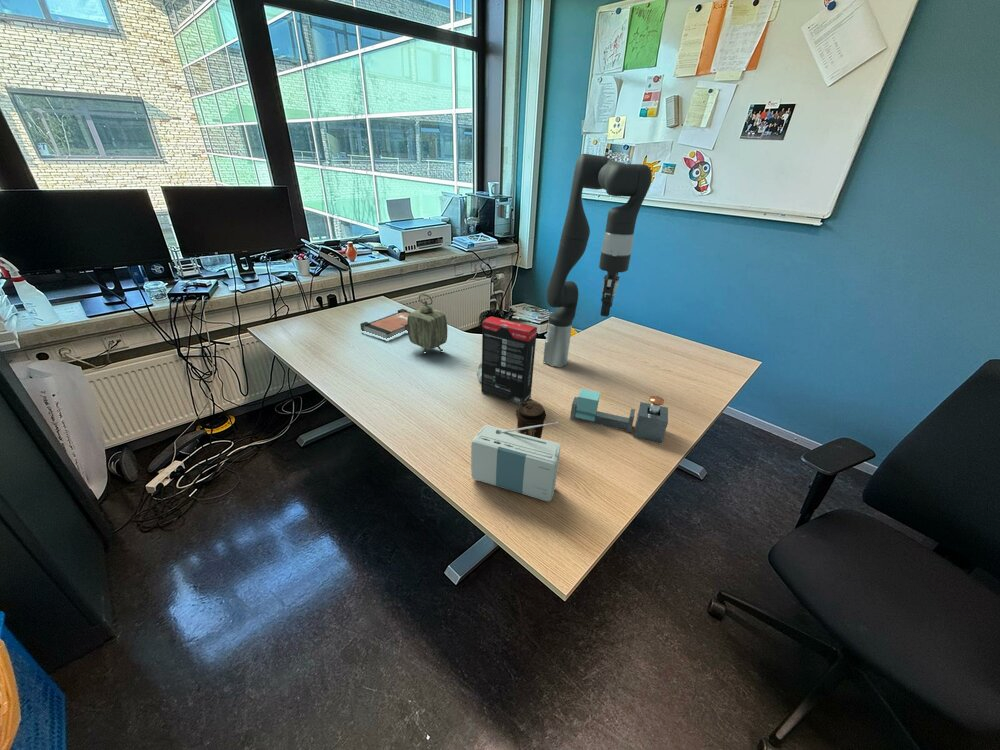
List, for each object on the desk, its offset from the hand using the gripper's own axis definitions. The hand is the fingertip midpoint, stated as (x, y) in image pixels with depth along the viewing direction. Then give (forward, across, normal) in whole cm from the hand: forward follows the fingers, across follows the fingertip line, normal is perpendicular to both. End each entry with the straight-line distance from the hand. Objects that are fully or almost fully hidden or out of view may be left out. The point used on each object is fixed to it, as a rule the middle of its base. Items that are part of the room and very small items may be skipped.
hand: (606, 311), depth 110 cm
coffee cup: (+37, +20, -14) cm, 44 cm away
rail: (+36, 0, +4) cm, 37 cm away
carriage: (+35, 0, -1) cm, 35 cm away
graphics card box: (+36, -3, -29) cm, 47 cm away
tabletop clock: (+36, -24, -71) cm, 83 cm away
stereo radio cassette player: (+37, +36, -14) cm, 53 cm away
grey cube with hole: (+36, +1, +18) cm, 41 cm away
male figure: (+36, -20, -41) cm, 58 cm away
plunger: (+31, +1, +19) cm, 36 cm away
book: (+36, -40, -97) cm, 111 cm away
